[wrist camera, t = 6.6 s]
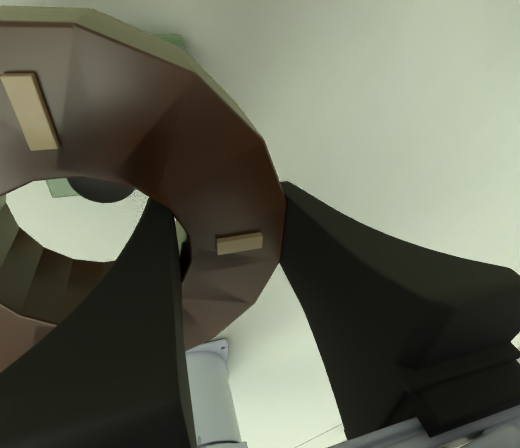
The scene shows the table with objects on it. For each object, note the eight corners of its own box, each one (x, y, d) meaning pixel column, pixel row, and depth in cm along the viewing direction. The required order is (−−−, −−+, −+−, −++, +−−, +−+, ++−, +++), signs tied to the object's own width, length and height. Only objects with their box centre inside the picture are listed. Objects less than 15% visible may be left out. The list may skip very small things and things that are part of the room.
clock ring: (253, 284, 16) (273, 341, 13) (-15, 336, 13) (-50, 420, 10) (266, 13, 9) (314, 28, 7) (-291, -4, 6) (-574, 9, 4)
